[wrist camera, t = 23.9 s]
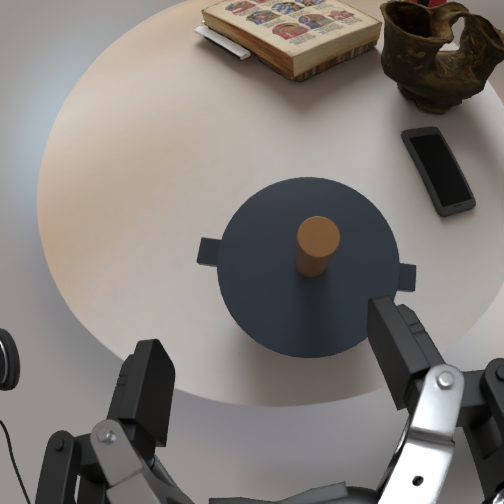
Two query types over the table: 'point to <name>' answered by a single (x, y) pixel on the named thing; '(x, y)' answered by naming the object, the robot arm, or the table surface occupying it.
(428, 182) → the cell phone
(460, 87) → the pottery vessel
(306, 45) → the book
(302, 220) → the lid
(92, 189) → the table surface
